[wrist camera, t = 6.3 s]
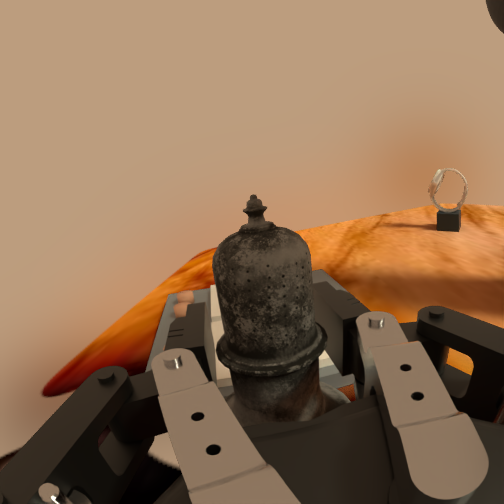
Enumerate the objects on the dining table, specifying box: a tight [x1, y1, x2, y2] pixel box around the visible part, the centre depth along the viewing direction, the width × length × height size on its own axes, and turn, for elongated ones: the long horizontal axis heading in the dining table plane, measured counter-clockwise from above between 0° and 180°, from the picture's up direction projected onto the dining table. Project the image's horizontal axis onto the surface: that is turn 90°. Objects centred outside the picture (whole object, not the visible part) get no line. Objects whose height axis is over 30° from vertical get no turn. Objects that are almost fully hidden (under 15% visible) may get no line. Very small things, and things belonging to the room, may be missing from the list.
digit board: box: [145, 269, 356, 398], centre depth 25 cm, size 17×18×2 cm
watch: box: [428, 168, 468, 232], centre depth 48 cm, size 6×8×11 cm
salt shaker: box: [212, 195, 350, 427], centre depth 10 cm, size 6×6×12 cm
